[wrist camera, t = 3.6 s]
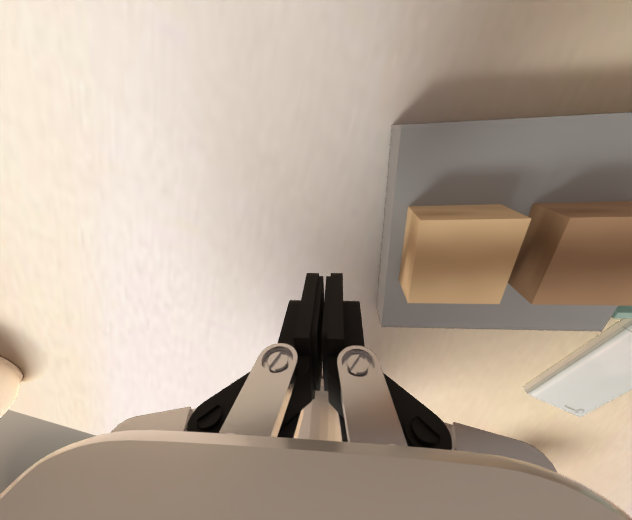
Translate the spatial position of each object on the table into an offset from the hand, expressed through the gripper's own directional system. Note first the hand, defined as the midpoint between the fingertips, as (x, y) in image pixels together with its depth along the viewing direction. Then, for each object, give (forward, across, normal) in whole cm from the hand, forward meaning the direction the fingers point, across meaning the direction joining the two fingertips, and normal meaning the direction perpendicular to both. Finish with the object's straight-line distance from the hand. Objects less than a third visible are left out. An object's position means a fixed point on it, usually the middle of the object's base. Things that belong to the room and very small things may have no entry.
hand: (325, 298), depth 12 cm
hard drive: (+11, -28, +17) cm, 35 cm away
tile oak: (+8, -8, +1) cm, 11 cm away
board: (+11, -13, +1) cm, 17 cm away
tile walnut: (+8, -16, +1) cm, 18 cm away
